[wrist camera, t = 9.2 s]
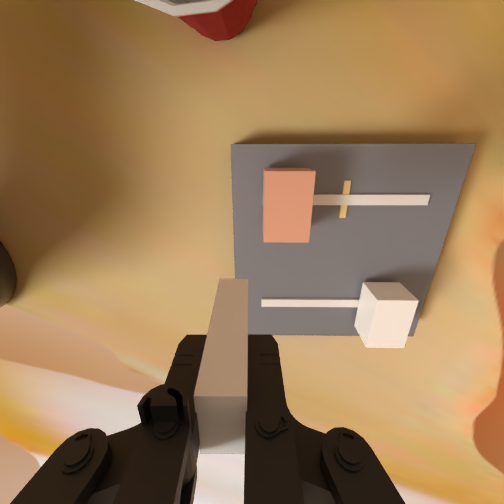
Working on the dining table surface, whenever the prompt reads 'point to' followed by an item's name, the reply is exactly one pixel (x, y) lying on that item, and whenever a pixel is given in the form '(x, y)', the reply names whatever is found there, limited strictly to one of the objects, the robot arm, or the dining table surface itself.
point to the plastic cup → (209, 15)
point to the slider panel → (344, 229)
